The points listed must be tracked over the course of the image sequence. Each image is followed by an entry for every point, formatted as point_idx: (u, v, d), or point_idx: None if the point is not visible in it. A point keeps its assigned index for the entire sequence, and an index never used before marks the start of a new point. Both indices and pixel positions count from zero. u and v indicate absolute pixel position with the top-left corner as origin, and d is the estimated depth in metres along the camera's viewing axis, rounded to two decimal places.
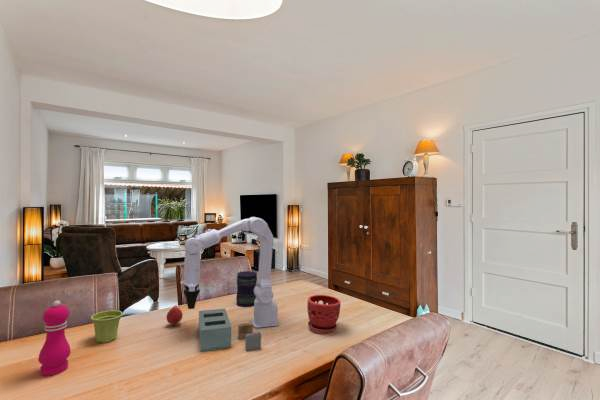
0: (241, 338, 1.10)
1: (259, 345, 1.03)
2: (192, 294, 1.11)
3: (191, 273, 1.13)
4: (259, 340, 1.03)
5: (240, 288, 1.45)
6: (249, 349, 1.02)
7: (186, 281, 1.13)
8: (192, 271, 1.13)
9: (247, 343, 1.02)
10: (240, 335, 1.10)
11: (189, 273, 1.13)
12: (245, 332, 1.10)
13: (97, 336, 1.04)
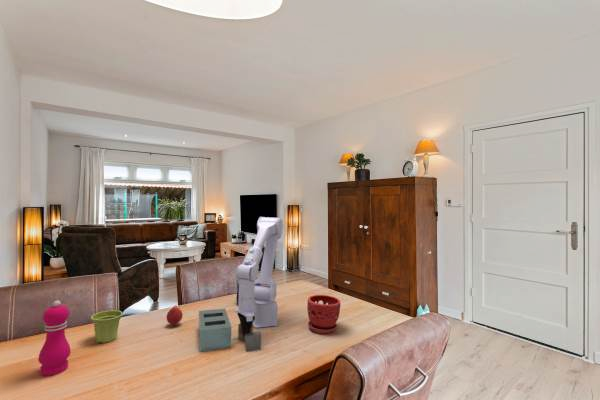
0: (241, 338, 1.10)
1: (259, 345, 1.03)
2: (247, 321, 1.10)
3: (247, 301, 1.09)
4: (259, 340, 1.03)
5: None
6: (249, 349, 1.02)
7: (241, 309, 1.09)
8: (248, 299, 1.09)
9: (247, 343, 1.02)
10: (240, 335, 1.10)
11: (244, 302, 1.09)
12: None
13: (97, 336, 1.04)
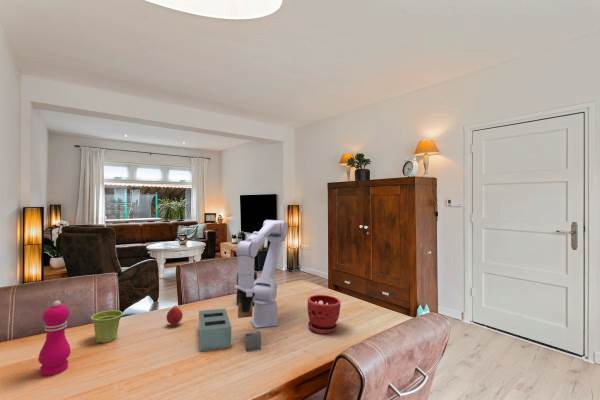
0: (241, 316, 1.10)
1: (259, 345, 1.03)
2: (247, 297, 1.10)
3: (246, 277, 1.09)
4: (259, 340, 1.03)
5: None
6: (249, 349, 1.02)
7: (241, 286, 1.09)
8: (247, 275, 1.09)
9: (247, 343, 1.02)
10: (240, 313, 1.10)
11: (244, 278, 1.09)
12: None
13: (97, 336, 1.04)
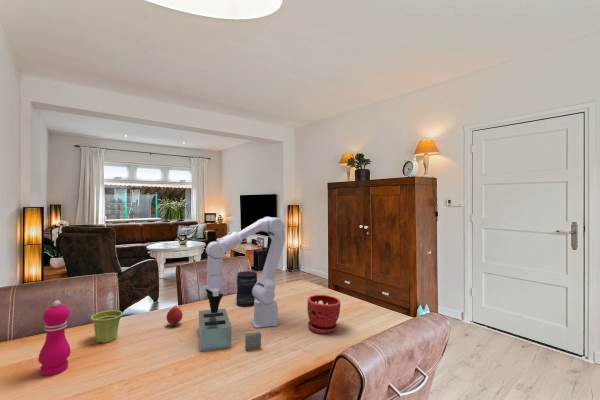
0: None
1: (259, 345, 1.03)
2: (215, 298, 1.11)
3: (214, 277, 1.12)
4: (259, 340, 1.03)
5: (240, 288, 1.45)
6: (249, 349, 1.02)
7: (209, 286, 1.12)
8: (215, 275, 1.12)
9: (247, 343, 1.02)
10: None
11: (212, 278, 1.12)
12: None
13: (97, 336, 1.04)
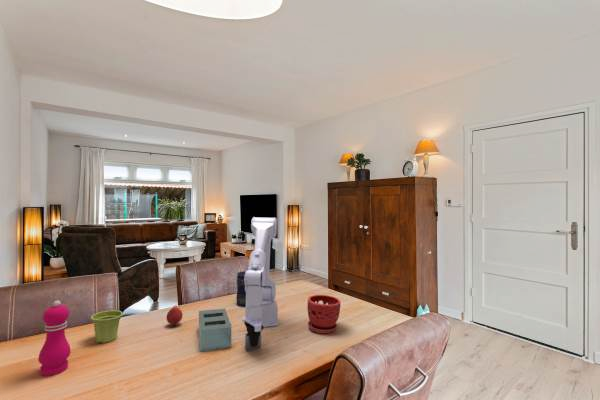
0: None
1: (259, 344, 1.03)
2: (255, 330, 1.02)
3: (254, 309, 1.01)
4: (259, 340, 1.03)
5: (240, 288, 1.45)
6: (249, 349, 1.02)
7: (249, 318, 1.01)
8: (255, 307, 1.01)
9: (247, 343, 1.02)
10: None
11: (252, 310, 1.01)
12: None
13: (97, 336, 1.04)
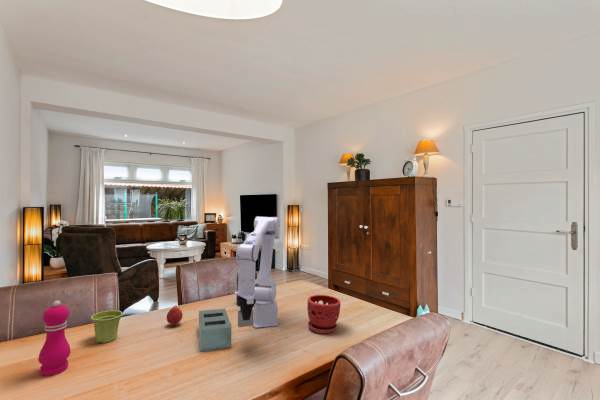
0: None
1: (251, 321, 1.04)
2: (247, 304, 1.03)
3: (247, 283, 1.02)
4: (251, 316, 1.04)
5: None
6: (242, 325, 1.03)
7: (241, 292, 1.02)
8: (248, 281, 1.02)
9: (239, 319, 1.02)
10: None
11: (244, 284, 1.01)
12: None
13: (97, 336, 1.04)
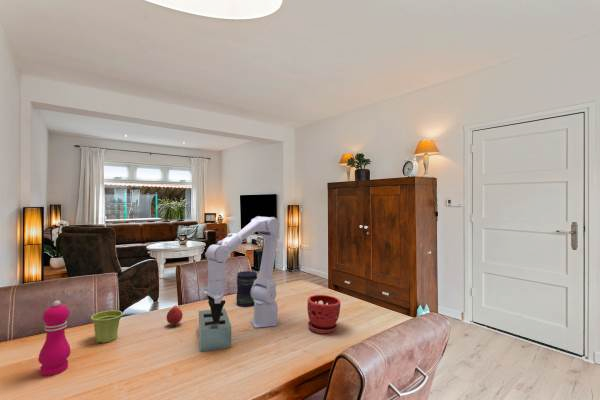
0: None
1: None
2: (217, 305, 1.04)
3: (216, 283, 1.04)
4: None
5: (240, 288, 1.45)
6: None
7: (210, 292, 1.04)
8: (217, 281, 1.04)
9: None
10: None
11: (213, 284, 1.04)
12: None
13: (97, 336, 1.04)
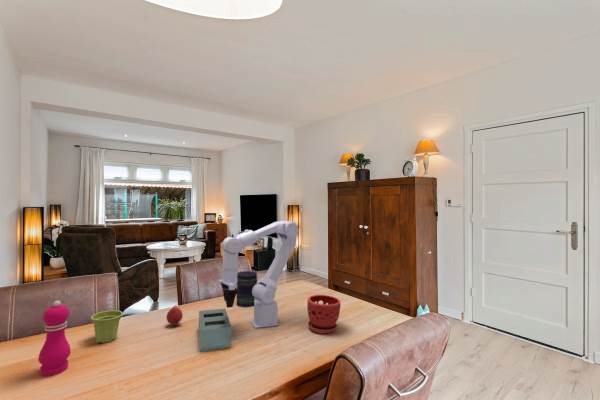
0: None
1: None
2: (231, 293, 1.13)
3: (230, 272, 1.15)
4: None
5: (240, 288, 1.45)
6: None
7: (225, 280, 1.15)
8: (231, 270, 1.15)
9: None
10: None
11: (227, 272, 1.15)
12: None
13: (97, 336, 1.04)
